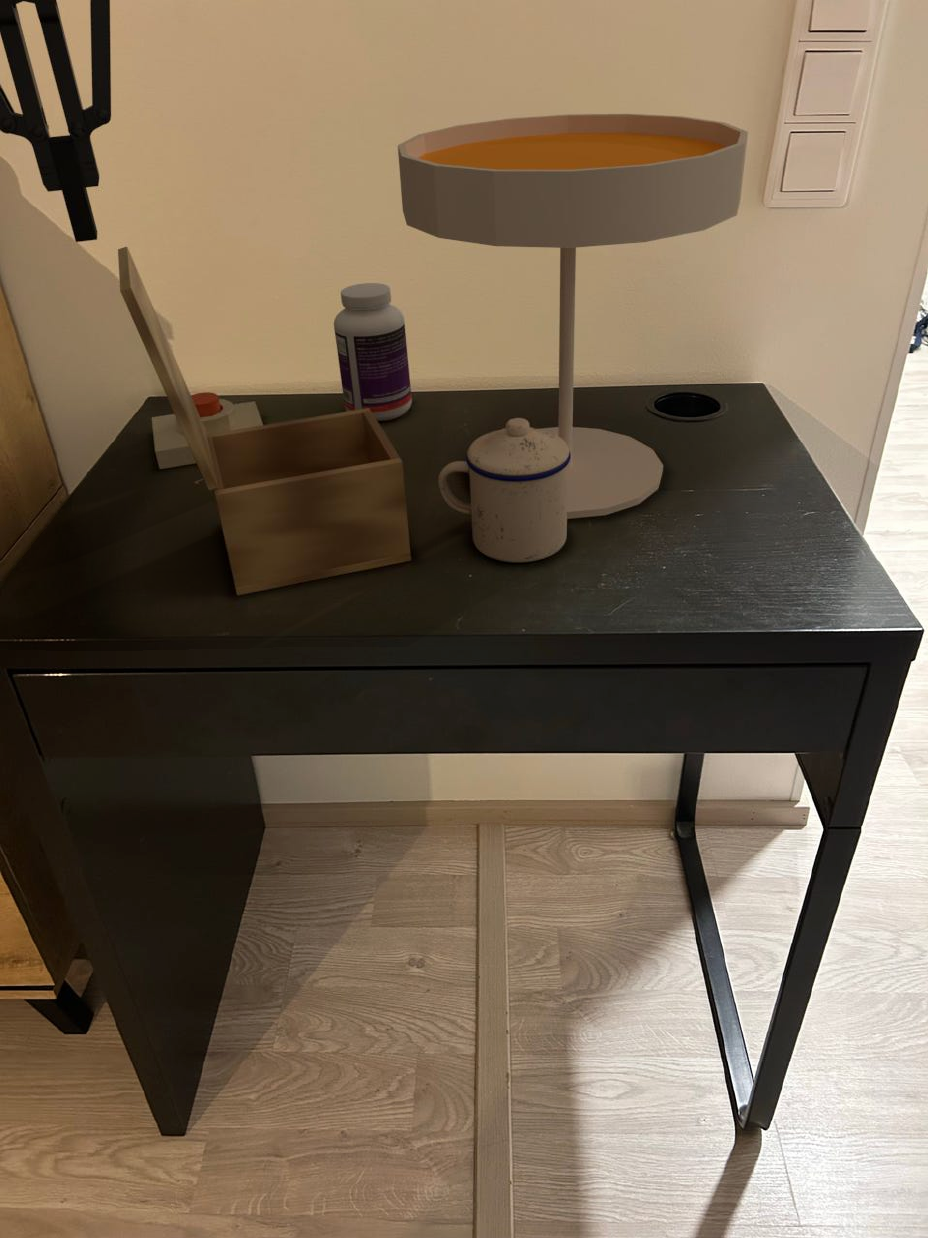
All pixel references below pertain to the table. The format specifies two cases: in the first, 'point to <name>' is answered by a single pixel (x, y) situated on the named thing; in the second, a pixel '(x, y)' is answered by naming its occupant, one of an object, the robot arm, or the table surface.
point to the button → (206, 403)
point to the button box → (231, 417)
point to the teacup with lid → (514, 492)
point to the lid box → (309, 499)
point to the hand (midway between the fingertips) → (86, 236)
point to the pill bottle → (372, 352)
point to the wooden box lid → (165, 364)
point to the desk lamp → (577, 228)
